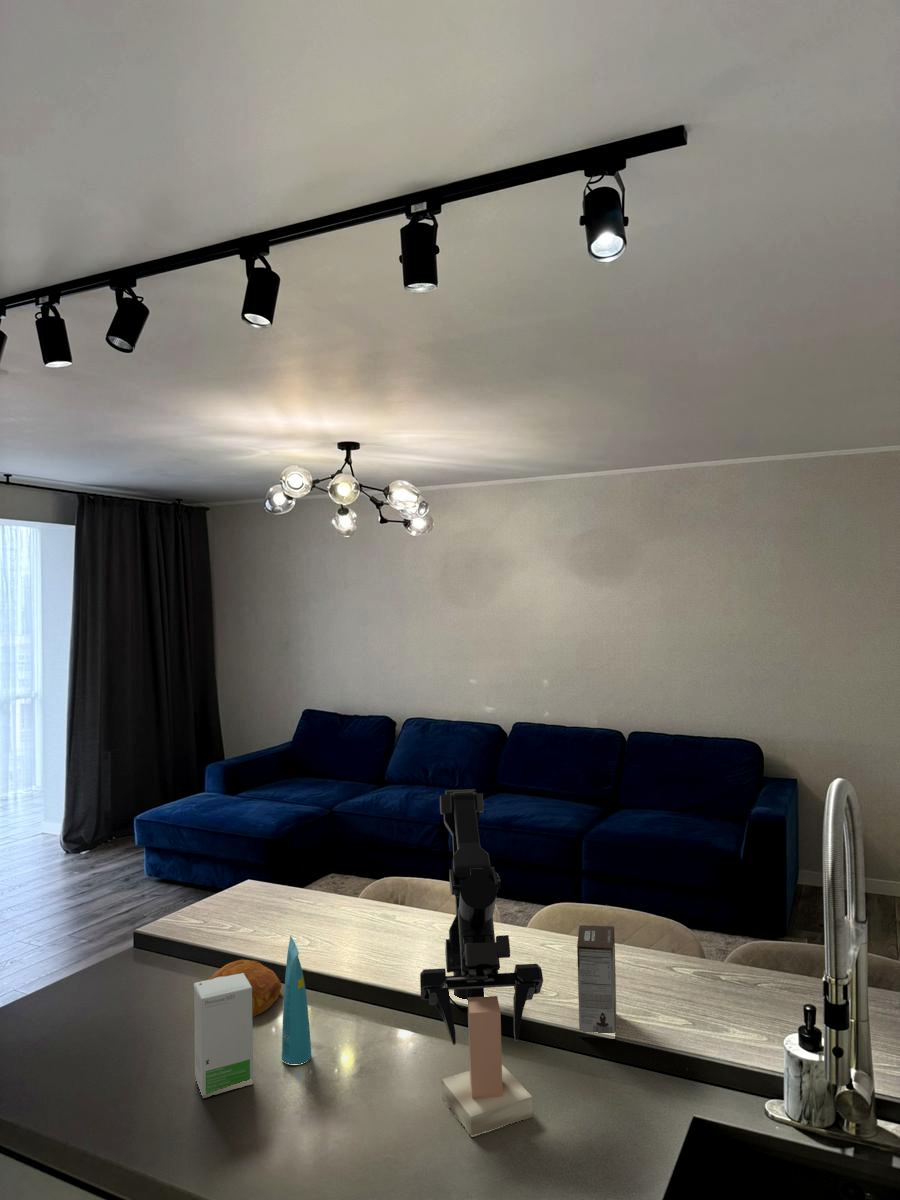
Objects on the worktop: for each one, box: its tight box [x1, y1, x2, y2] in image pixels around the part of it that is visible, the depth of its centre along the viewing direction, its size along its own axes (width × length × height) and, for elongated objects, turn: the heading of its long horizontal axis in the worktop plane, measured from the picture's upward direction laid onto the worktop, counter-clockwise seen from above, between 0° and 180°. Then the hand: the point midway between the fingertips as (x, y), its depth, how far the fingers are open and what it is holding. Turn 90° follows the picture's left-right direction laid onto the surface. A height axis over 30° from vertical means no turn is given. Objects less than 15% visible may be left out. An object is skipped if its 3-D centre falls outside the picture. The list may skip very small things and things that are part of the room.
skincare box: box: [193, 973, 254, 1096], centre depth 129 cm, size 8×7×16 cm
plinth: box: [441, 1064, 533, 1135], centre depth 120 cm, size 10×10×3 cm
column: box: [467, 995, 503, 1098], centre depth 120 cm, size 4×4×12 cm
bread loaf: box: [206, 959, 282, 1018], centre depth 154 cm, size 14×16×8 cm
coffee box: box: [576, 924, 617, 1033], centre depth 142 cm, size 9×6×16 cm
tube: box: [281, 934, 312, 1064], centre depth 134 cm, size 7×5×19 cm, turn 26°
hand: (485, 1042), depth 119 cm, fingers open, 9 cm apart
